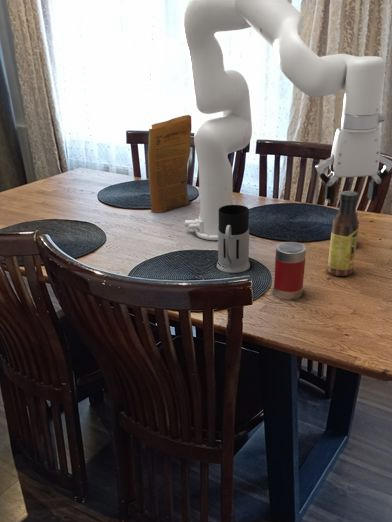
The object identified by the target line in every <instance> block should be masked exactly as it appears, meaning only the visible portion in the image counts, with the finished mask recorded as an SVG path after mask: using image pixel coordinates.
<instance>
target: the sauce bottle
mask: <svg viewBox="0 0 392 522" xmlns="http://www.w3.org/2000/svg"><path fill="white" fill-rule="evenodd" d="M358 199H359V193H358V192H357V191H354V190H345V191H341V192H340V193H339V208H338V213H337V214H336V216H334V218H333V221H332V228H331V232H330V242H329V252H328V259H327V260H328V261H327V271H328V273H329V274H331V275H333V276H337V277H346V276H349V275H351V274H352V273H353V270H354V269H353V268H354V264H355V257H356V252H357V245H358V244H357V243H358V236H359V227H360V226H359V225H360V224H358V221H357V217H358V216H357V217H356V211H357V201H358Z"/></svg>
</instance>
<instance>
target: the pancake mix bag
mask: <svg viewBox="0 0 392 522" xmlns="http://www.w3.org/2000/svg"><path fill="white" fill-rule="evenodd" d="M192 129H193V128H192V115H190V114H186V115H185V114H184V115H182V116H177V117H174V118H171V119H168V120H165V121H161V122H157V123H153V124H151V128H149V129H148V137H147V140H148V143H147V173H148V184H149V195H150V202H151V204H150V205H151V207H150V208H151V209H150V212H151V213H165V212H168V211H171V210H174V209H177V208H180V207H184V206H187V205H189V203H190V197H189V194H188V180H189V159H190V153H191V137H192V136H191V135H192Z"/></svg>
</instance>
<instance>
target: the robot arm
mask: <svg viewBox="0 0 392 522" xmlns="http://www.w3.org/2000/svg"><path fill="white" fill-rule="evenodd" d="M304 25H305V18H304V16H303V14H302V13H301V12H300V11H299V10H298V9H297V8H296V7H295V6H294V5H293V0H189V1H188V3H187V4H186V7H185V10H184V12H183V17H182V30H183V37H184V41H185V44H186V45H185V46H186V48H187V53H188V58H189V65H190V75H191V82H192V83H191V84H192V90H193V99H194V102H195V106H196V109H197V110H198V111H199V112H200V113H202V114H205V115H211V114H216V113H222V116H220V117H216V118H211V119H209V120H206V121H203V122H202V123H200V124H199V125H198V127H197V128H196V129H195V131H194V136H193V143H194V149H195V154H196V158H197V159H196V160H197V167H198V188H199V191H198V192H199V194H198V195H199V215H198V218H195V219H185V220H184V225H185V226H184V227H185V228H188V229H189V230H193V229H195V230H194V231H195V232H194V233H195V236H196V237H198V238H200V239H203V240H207V241H218V226H219V208H221V207H223V206H226V205H234V204H233V201H234V199H233V195H234V194H233V192H234V191H233V189H234V187H233V182H234V180H233V179H234V176H233V175H234V174H233V173H234V172H233V168H232V165H231V162H230V160H229V158H228V157H229V156H228V155H229V154H232V153H235V152H238V151H241V150H243V149H245V148H246V147H247V146H248V145H249V144H250V142H251V140H252V136H253V124H252V122H253V121H252V110H251V109H252V108H251V100H250V90H249V85H248V83H247V81H246V78H245V77H244V76H243V74H242V73H240V72H239V71H237V70H234V69H228V70H226V69H225V65H224V55H223V50H222V48H221V45H220V43H219V41H218V40H217V37H216V36H215V34H216V33H219V32H230V31H240V30H244V29H245V30H246V29H249V28H252V29H253V30H255V32H257V34H259V36H261V38H263V39H264V40H265V41H266V42H267V43H268V44H269V45H270V46H271V47H272V48H273V49H274V51H275V57H276V60H277V63H278V66H279V69H280V70H281V72H282V73H283V75H284V76H285V77H286V79H288V80H289V81H290V82H291V83H292V85H294V86H295V87H296V88H297V89H298V90H299V91H300V92H302V94H304V95H306V96H308V97H311V98H322V97H326V96H330V95H335V94H339V93H344V94H343V102H342V103H343V105H342V115H341V123H340V127H337V129H336V131H335V134H334V138H333V143H332V147H331V153H330V157H328V158H327V159H324V160H323V161H321V162H319V163H317V164H316V165H315V169H316V172H317V174H318V177H319V178H320V179H321V180H322V181H323V183H324V184H325V190H324V191H325V192H324V199H325V200H326V201H327V202H328V204H329V205H331V204H333V203H334V198H335V186H334V184H335V183H336V182H337V180H338V179H339V178H360V177H361V178H362V177H370V178H371V179H370V180H369V184H368V188H367V199H368V200H370V201H371V202H375V200H376V197H377V196H378V192H379V186H380V185H379V184H381V183H382V181H383V180H384V179H385V178H386V177H387V176H388V175H389V172H390V171H391V169H392V160H390V159H389V158H386V157H385V156H383V155H381V130H380V127H379V124H380V123H384V122H385V120H386V117H385V114H381V113H380V108H381V101H382V95H383V93H382V92H383V86H384V79H385V72H386V61H385V59H384V58H383V57H381V56H378V55H377V56H376V55H375V56H374V55H363V56H356V55H351V54H348V53H347V54H346V53H336V54H329V55H323V56H319V55H317V54H316V53H315V52H314V50H312V48H310V47H309V46H308V45H307V44H306V43H305V42H304V40H302V38H301V34H302V32H303V29H304ZM380 164H383V167H382V169H381V170H379V167H380ZM328 167H329V171H330V172H329V173H328V175H326V173H325V169H326V168H328Z"/></svg>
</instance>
